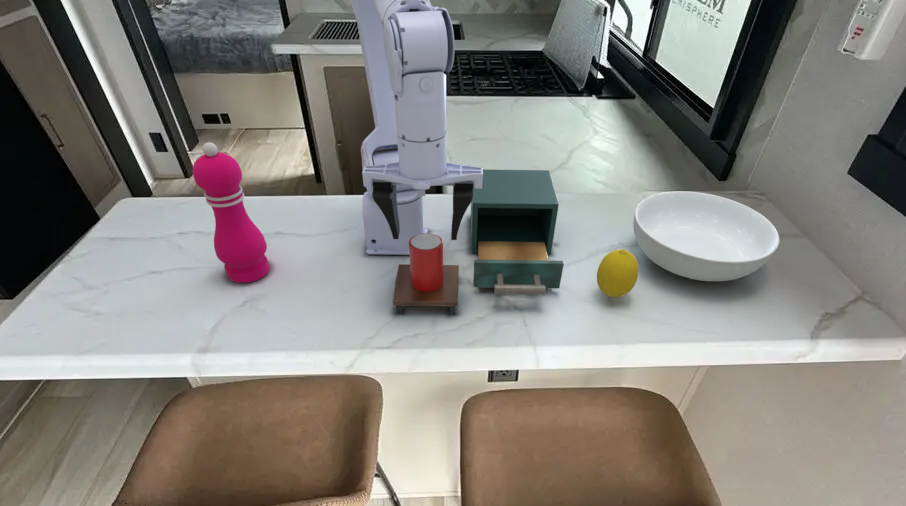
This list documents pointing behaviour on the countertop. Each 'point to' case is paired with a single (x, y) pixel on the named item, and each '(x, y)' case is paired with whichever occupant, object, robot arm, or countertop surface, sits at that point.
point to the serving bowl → (703, 235)
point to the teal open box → (514, 208)
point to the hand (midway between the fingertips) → (425, 235)
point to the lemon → (617, 273)
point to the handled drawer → (516, 268)
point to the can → (426, 262)
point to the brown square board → (413, 297)
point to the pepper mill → (231, 216)
